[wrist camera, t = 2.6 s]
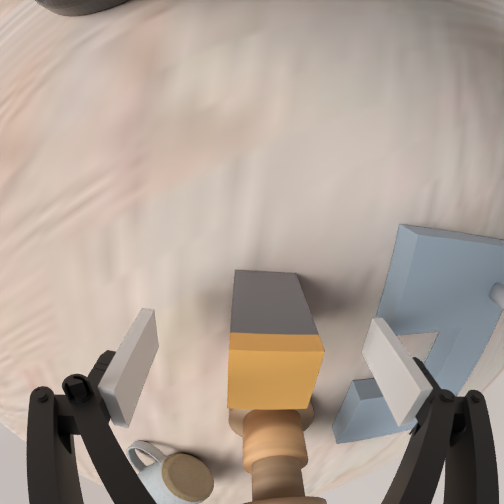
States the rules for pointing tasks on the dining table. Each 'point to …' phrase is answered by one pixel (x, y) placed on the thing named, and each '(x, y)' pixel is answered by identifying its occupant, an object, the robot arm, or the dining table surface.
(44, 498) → the robot arm
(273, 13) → the dining table surface
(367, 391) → the board
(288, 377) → the orange and grey block
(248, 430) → the bobbin
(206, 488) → the ceramic mug
